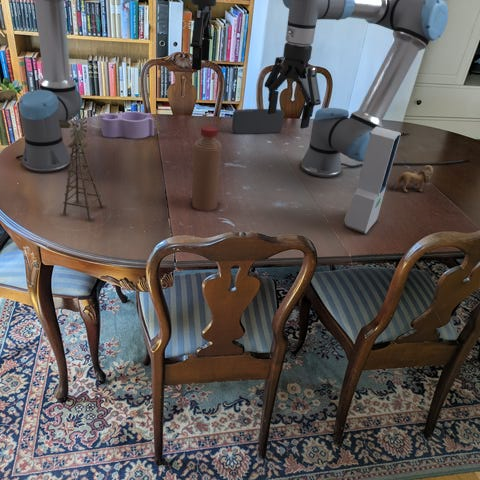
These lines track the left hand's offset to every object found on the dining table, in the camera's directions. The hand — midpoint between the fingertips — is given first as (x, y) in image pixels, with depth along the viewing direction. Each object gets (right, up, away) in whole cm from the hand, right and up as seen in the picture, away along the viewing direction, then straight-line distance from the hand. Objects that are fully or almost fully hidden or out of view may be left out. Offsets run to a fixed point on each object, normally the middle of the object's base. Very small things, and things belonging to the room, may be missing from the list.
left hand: (200, 65), depth 149 cm
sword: (+81, -9, +65) cm, 104 cm away
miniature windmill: (-33, -48, -13) cm, 59 cm away
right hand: (+27, -21, -12) cm, 36 cm away
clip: (-33, -13, +41) cm, 54 cm away
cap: (+4, -24, -16) cm, 30 cm away
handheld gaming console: (+20, -9, +56) cm, 60 cm away
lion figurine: (+74, -38, +21) cm, 86 cm away
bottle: (+2, -45, -3) cm, 45 cm away
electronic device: (+50, -51, -4) cm, 71 cm away
